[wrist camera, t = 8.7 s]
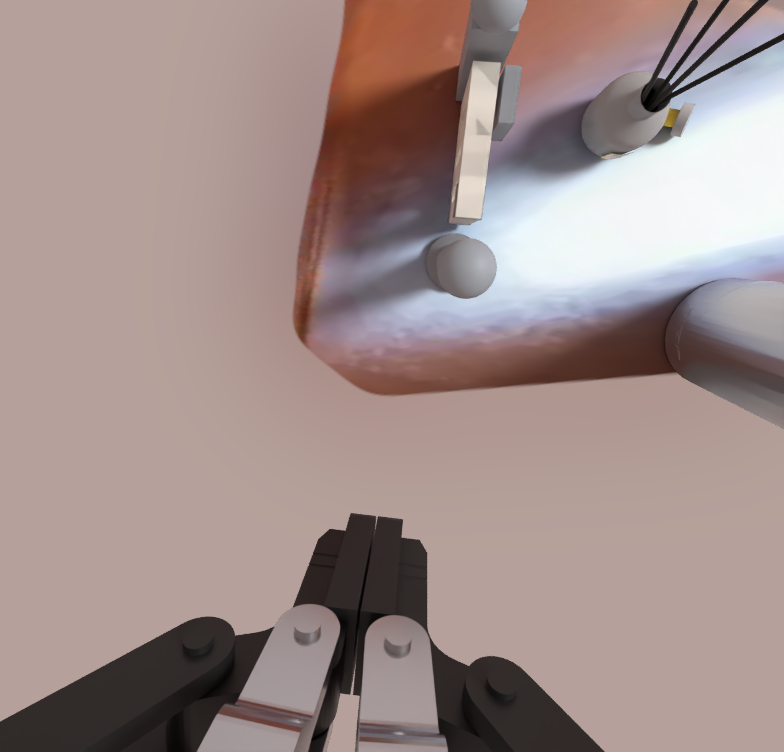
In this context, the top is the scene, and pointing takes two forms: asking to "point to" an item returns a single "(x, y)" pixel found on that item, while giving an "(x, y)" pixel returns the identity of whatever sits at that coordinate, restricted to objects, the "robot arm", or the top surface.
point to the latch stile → (493, 54)
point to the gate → (474, 143)
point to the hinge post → (461, 265)
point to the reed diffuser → (653, 95)
